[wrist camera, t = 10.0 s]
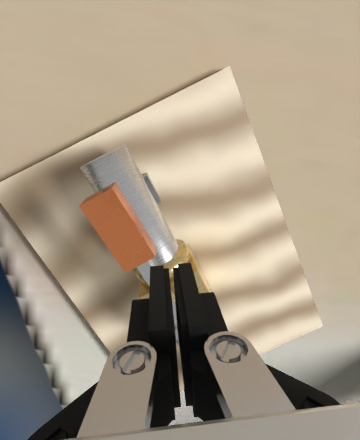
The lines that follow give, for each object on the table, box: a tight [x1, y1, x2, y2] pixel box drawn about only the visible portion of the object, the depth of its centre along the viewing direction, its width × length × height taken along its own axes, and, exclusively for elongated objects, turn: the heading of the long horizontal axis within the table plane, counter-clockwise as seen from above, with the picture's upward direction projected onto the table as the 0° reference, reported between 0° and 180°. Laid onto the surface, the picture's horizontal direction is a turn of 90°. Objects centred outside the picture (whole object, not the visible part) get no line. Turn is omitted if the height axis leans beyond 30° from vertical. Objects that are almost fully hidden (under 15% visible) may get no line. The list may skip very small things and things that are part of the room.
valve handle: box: [79, 182, 179, 345], centre depth 23 cm, size 3×15×2 cm, turn 28°
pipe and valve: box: [80, 144, 229, 348], centre depth 30 cm, size 30×6×8 cm, turn 25°
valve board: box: [0, 66, 323, 391], centre depth 34 cm, size 34×26×2 cm
